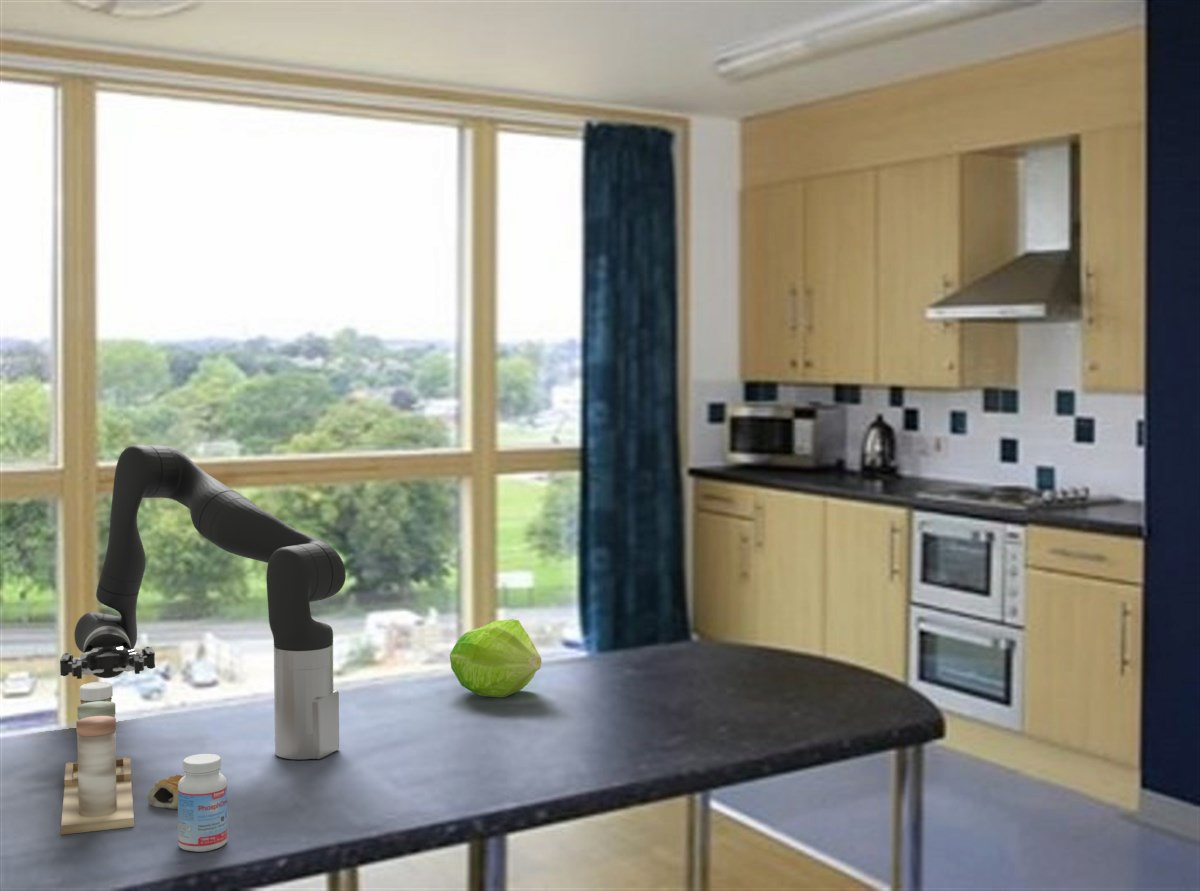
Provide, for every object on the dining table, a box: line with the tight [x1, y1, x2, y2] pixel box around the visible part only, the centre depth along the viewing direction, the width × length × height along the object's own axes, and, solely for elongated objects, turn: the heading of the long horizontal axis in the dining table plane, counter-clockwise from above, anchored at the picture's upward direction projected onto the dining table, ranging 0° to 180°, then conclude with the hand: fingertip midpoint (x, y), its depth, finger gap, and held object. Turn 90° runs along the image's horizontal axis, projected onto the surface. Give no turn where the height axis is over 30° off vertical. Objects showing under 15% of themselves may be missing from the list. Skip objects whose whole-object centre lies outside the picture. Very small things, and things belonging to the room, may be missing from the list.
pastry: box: [147, 774, 186, 810], centre depth 188 cm, size 9×7×4 cm
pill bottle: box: [177, 753, 228, 853], centre depth 170 cm, size 6×6×11 cm
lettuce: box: [449, 618, 542, 698], centre depth 248 cm, size 15×20×14 cm
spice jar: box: [78, 681, 114, 705], centre depth 195 cm, size 5×5×13 cm
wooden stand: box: [60, 701, 135, 835], centre depth 187 cm, size 26×9×14 cm, turn 21°
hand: (108, 669), depth 207 cm, fingers open, 8 cm apart
